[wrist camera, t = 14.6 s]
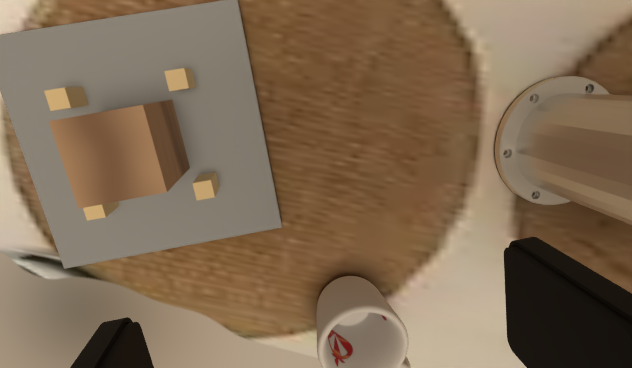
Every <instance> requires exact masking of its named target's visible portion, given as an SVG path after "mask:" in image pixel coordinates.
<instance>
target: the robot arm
mask: <svg viewBox="0 0 632 368" xmlns="http://www.w3.org/2000/svg"><path fill="white" fill-rule="evenodd" d="M504 151H505V152H504ZM495 158H496V164H497V168H498V171H499V173H500V175H501V178H502V179H503V181H504V182H505V184H506V185H507V187H509V188H510V189H511V190H512V191H513V192H514V193H515V194H517V195H518V196H520V197H522V198H524V199H526V200H528V201H530V202H533V203H537V204H541V205H559V204H564V203H568V202H571V201H573V202H575V203H578V204H580V205H583V206H585V207H588V208H590V209H593V210H595V211H598V212H600V213H603V214H605V215H608V216H610V217H613V218H615V219H618V220H620V221H622V222H625V223H627V224H630V225H632V95H611V94H610V93H609V92H608V91H607V90H606V89H605V88H604V87H603V86H601V85H600V84H598V83H597V82H595V81H592V80H590V79H587V78H584V77H577V76H560V77H554V78H549V79H546V80H544V81H541V82H538V83H537V84H535V85H533V86H532V87H530V88H528V89H527V90H526V91H524V92H523V93H522V94H521V95H520V96H519V97H518V98H517V99H516V100H515V101H514V102H513V103H512V105H511V106H510V107H509V108H508V110H507V112H506V113H505V115H504V117H503V119H502V121H501V123H500V126H499V129H498V132H497V137H496V142H495ZM504 269H505V294H506V319H507V338H508V343H509V345H510V347H511V349H512V351H513V352H514V354H515V355H516V356H517V357H518V358H519V359H520V360H521V361H522V363H523V364H524V365H525V366H526V367H527V368H632V294H631V293H630V292H628V291H626V290H625V289H623V288H621V287H620V286H618V285H616V284H614V283H613V282H611V281H609V280H608V279H606V278H604V277H603V276H601V275H599V274H598V273H596V272H594V271H592V270H591V269H589V268H587V267H586V266H584V265H582V264H581V263H579V262H577V261H576V260H574V259H572V258H571V257H569V256H567V255H565V254H564V253H562V252H560V251H559V250H557V249H555V248H554V247H552V246H550V245H549V244H547V243H545V242H543V241H542V240H540V239H538V238H536V237H530V238H525V239H520V240H515V241H512V242H511V243H510V245H509V248H506V249H505V251H504ZM71 368H154V367H153V364H152V360H151V357H150V354H149V351H148V348H147V345H146V342H145V338H144V335H143V332H142V329H141V327H140V324H139V323H138V322H134V323H133V322H132V320H131V319H130V318H123V319H118V320H113V321H108V322H104V323H102V324H101V325H100V326H99V328H98V329H97V331H96V332H95V334H94V335H93V336H92V338H91V339H90V341H89V342H88V343H87V345H86V346H85V348H84V349H83V350H82V352H81V353H80V355H79V356H78V358H77V359H76V360H75V362H74V363H73V365H72V366H71Z"/></svg>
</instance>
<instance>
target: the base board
mask: <svg viewBox="0 0 632 368" xmlns="http://www.w3.org/2000/svg"><path fill="white" fill-rule="evenodd" d="M0 91H1V94H2V97H3V100H4V102H5V105H6V108H7V111H8V113H9V116H10V119H11V122H12V125H13V127H14V130H15V133H16V136H17V138H18V141H19V144H20V147H21V150H22V152H23V155H24V158H25V161H26V163H27V166H28V169H29V172H30V175H31V177H32V180H33V183H34V186H35V188H36V191H37V194H38V197H39V200H40V202H41V205H42V208H43V211H44V213H45V216H46V219H47V222H48V225H49V227H50V230H51V233H52V236H53V238H54V241H55V244H56V247H57V250H58V252H59V255H60V258H61V261H62V263H63V266H64V269H65V268H70V267H75V266H81V265H86V264H91V263H96V262H102V261H107V260H112V259H118V258H123V257H128V256H133V255H139V254H144V253H149V252H155V251H160V250H165V249H170V248H176V247H181V246H186V245H191V244H197V243H202V242H207V241H213V240H218V239H223V238H228V237H234V236H239V235H244V234H249V233H255V232H260V231H265V230H271V229H276V228H281V227H282V221H281V216H280V211H279V206H278V201H277V196H276V191H275V186H274V181H273V176H272V170H271V165H270V160H269V155H268V150H267V145H266V140H265V135H264V130H263V124H262V119H261V114H260V109H259V104H258V99H257V94H256V89H255V84H254V78H253V73H252V68H251V63H250V58H249V53H248V48H247V43H246V38H245V32H244V27H243V22H242V17H241V12H240V7H239V2H238V0H223V1H216V2H210V3H203V4H197V5H190V6H184V7H177V8H171V9H164V10H158V11H151V12H145V13H138V14H132V15H125V16H119V17H112V18H106V19H99V20H93V21H86V22H80V23H73V24H67V25H60V26H54V27H47V28H41V29H34V30H28V31H21V32H15V33H8V34H2V35H0ZM166 100H173V104H174V108H175V112H176V115H177V119H178V123H179V127H180V131H181V135H182V139H183V143H184V146H185V150H186V154H187V158H188V162H189V166H190V169H189V170H188V171H187V172H186V173H185V174H184V175H183V176H182V177H181V178H180V179H179V180H178V181H177V182H176V183H175V184H174V185H173V186H172V187H171V189H170V190H169V191H168V192H165V193H160V194H155V195H149V196H144V197H139V198H133V199H128V200H123V201H117V202H112V203H107V204H101V205H96V206H91V207H85V208H80V209H78V206H77V203H76V200H75V197H74V194H73V191H72V188H71V185H70V182H69V179H68V176H67V174H66V171H65V168H64V165H63V162H62V159H61V156H60V153H59V150H58V147H57V144H56V142H55V139H54V136H53V133H52V130H51V127H50V124H49V121H53V120H59V119H64V118H70V117H75V116H81V115H87V114H92V113H98V112H103V111H109V110H115V109H121V108H126V107H132V106H138V105H143V104H149V103H155V102H161V101H166Z"/></svg>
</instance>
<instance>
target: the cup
mask: <svg viewBox="0 0 632 368" xmlns="http://www.w3.org/2000/svg"><path fill="white" fill-rule="evenodd" d="M407 350H408V335H407V331H406V328H405V326H404V324H403V322H402V321H401V320H400V318H399V317H398V316H397V314H396V313H395V312H394V310H393V309H392V308H391V306H390V305H389V304H388V302H387V301H386V300H385V298H384V297H383V296H382V294H381V293H380V292H379V290H378V289H377V288H376V287H375V286H374V285H373V284H372V283H371V282H369V281H368V280H366V279H364V278H361V277H357V276H344V277H340V278H338V279H336V280H334V281H332V282H331V283H329V284H328V285H327V286H326V287H325V288H324V290H323V291H322V293H321V295H320V297H319V300H318V303H317V353H318V359H319V361H320V364H321V366H322V368H411V367H410V363H409V361H408V359H407V357H406V354H407Z"/></svg>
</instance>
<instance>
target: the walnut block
mask: <svg viewBox="0 0 632 368" xmlns="http://www.w3.org/2000/svg"><path fill="white" fill-rule="evenodd" d="M49 124H50V127H51V130H52V133H53V136H54V139H55V142H56V144H57V147H58V150H59V153H60V156H61V159H62V162H63V165H64V168H65V171H66V174H67V176H68V179H69V182H70V185H71V188H72V191H73V194H74V197H75V200H76V203H77V206H78V209H80V208H85V207H91V206H96V205H101V204H107V203H112V202H117V201H123V200H128V199H133V198H139V197H144V196H149V195H155V194H160V193H165V192H168V191H169V190H170V189H171V187H172V186H173V185H174V184H175V183H176V182H177V181H178V180H179V179H180V178H181V177H182V176H183V175H184V174H185V173H186V172H187V171H188V170H189V169H190V166H189V162H188V158H187V154H186V150H185V146H184V143H183V139H182V135H181V131H180V127H179V123H178V119H177V115H176V112H175V108H174V104H173V100H166V101H161V102H155V103H149V104H143V105H138V106H132V107H126V108H121V109H115V110H109V111H103V112H98V113H92V114H87V115H81V116H75V117H70V118H64V119H59V120H53V121H49Z"/></svg>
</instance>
